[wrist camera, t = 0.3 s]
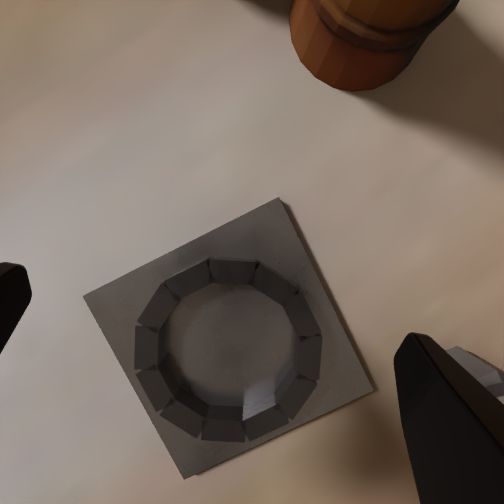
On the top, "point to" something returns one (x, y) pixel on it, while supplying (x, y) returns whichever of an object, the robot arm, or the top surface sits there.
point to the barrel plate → (229, 339)
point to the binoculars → (362, 37)
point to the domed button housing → (481, 371)
